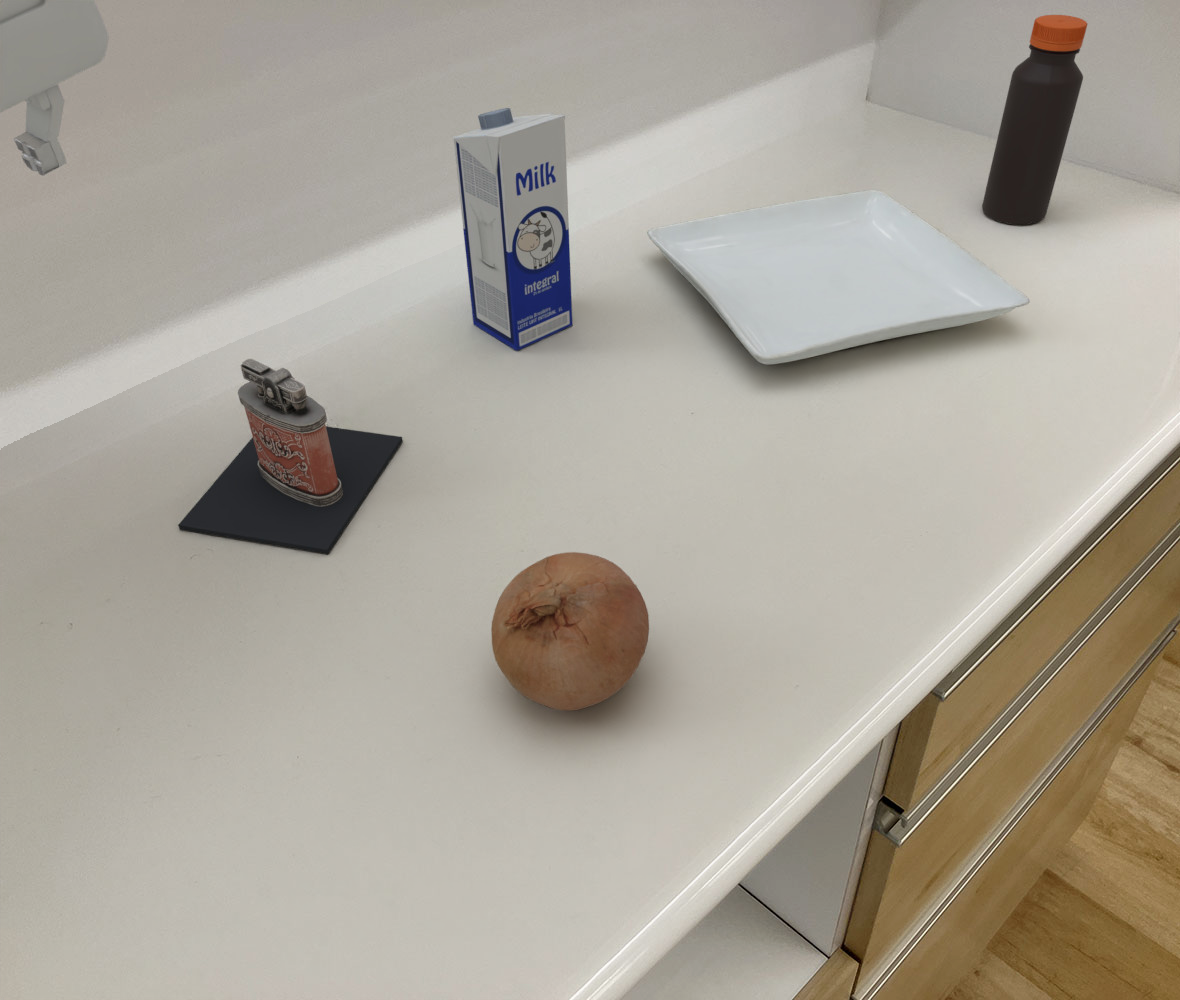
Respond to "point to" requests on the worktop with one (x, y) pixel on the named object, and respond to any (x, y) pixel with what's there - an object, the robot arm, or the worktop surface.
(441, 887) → the worktop surface
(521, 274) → the milk carton
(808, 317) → the square plate
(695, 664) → the worktop surface
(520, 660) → the onion
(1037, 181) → the bottle
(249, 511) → the mat
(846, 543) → the worktop surface
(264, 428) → the lighter
